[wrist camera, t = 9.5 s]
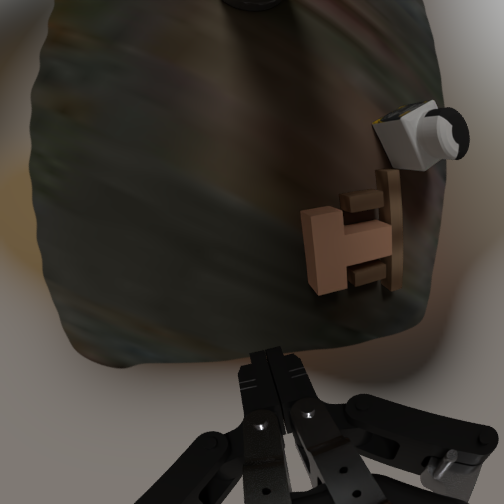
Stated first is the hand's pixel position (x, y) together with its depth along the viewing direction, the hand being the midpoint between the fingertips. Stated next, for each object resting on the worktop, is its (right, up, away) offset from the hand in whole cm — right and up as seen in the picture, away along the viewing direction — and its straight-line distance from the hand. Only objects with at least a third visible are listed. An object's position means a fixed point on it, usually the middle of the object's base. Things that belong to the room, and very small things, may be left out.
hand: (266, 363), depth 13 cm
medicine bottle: (+20, +22, +21) cm, 36 cm away
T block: (+11, +7, +24) cm, 27 cm away
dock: (+15, +8, +24) cm, 30 cm away
